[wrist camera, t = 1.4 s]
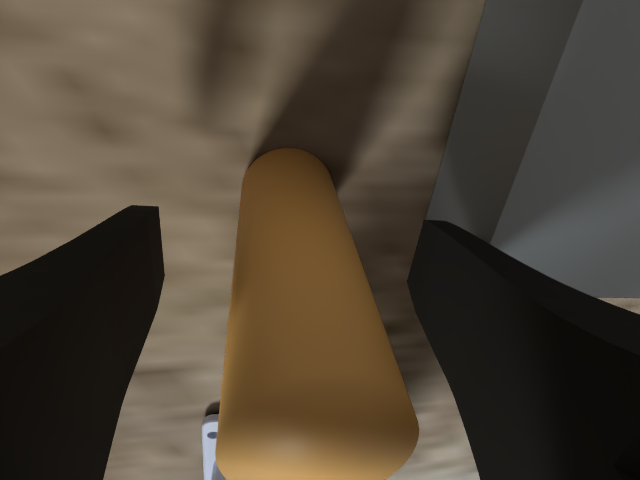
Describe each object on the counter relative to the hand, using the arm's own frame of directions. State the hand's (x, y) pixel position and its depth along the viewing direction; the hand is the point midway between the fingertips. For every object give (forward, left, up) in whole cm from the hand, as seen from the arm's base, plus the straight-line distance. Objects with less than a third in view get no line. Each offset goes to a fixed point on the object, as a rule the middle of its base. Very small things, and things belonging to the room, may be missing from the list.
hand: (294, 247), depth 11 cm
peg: (0, 0, -3) cm, 3 cm away
